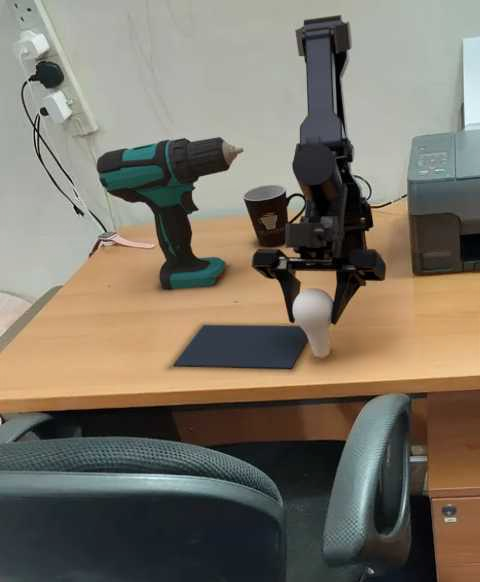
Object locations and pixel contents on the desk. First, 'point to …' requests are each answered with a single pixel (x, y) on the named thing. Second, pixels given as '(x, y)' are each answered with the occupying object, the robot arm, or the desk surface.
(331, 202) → the robot arm
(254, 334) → the felt mat
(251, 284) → the desk surface
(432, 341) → the desk surface
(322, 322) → the white rounded smooth part
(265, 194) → the coffee mug
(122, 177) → the power drill
